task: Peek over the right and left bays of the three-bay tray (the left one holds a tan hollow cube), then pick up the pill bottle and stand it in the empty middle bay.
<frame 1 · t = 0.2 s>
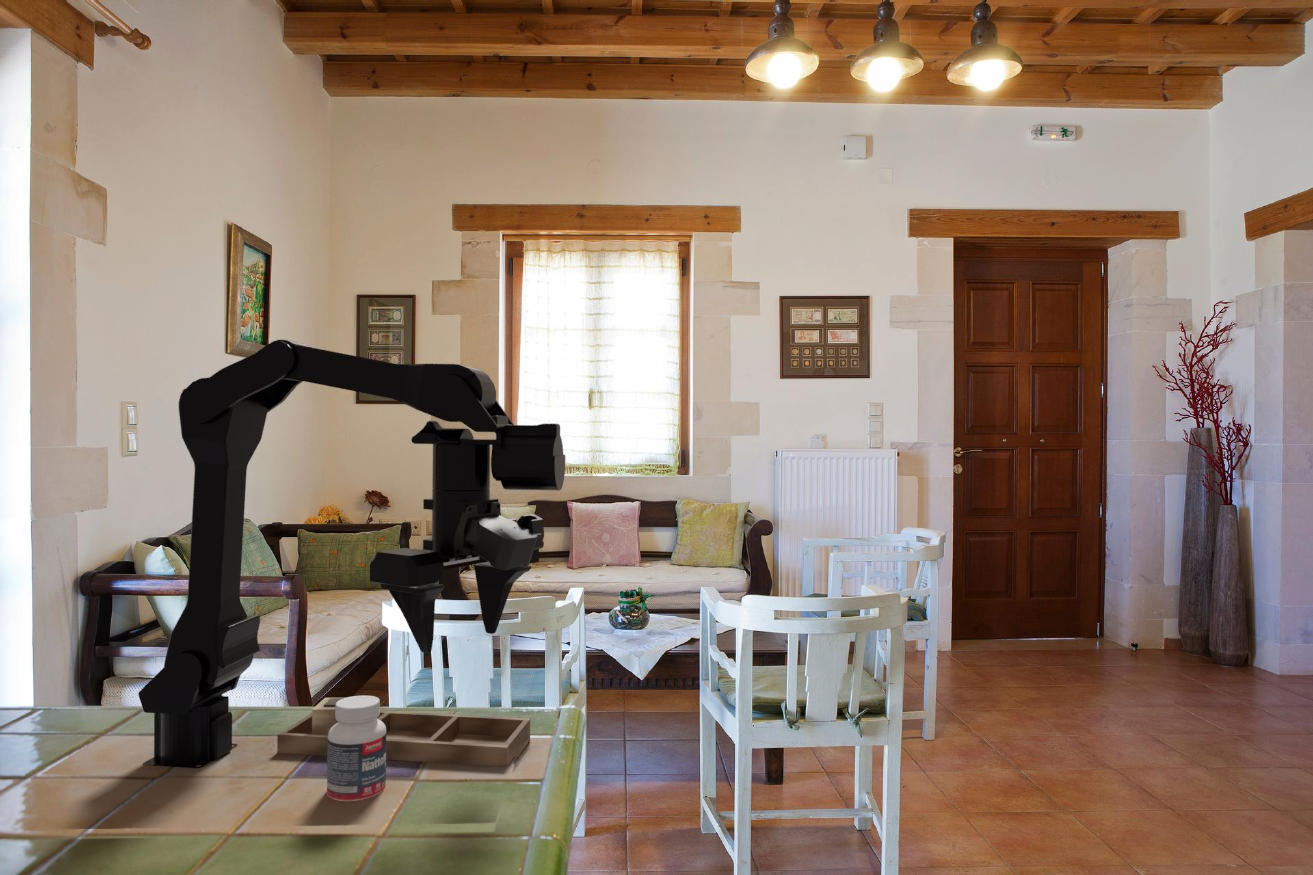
hand: (459, 642, 85), 13 cm above the counter, fingers open, 9 cm apart
pill bottle: (356, 796, 80), on the counter
bay tray: (407, 749, 91), on the counter
tan hollow cube: (337, 739, 92), point 1 cm above the counter, touching bay tray
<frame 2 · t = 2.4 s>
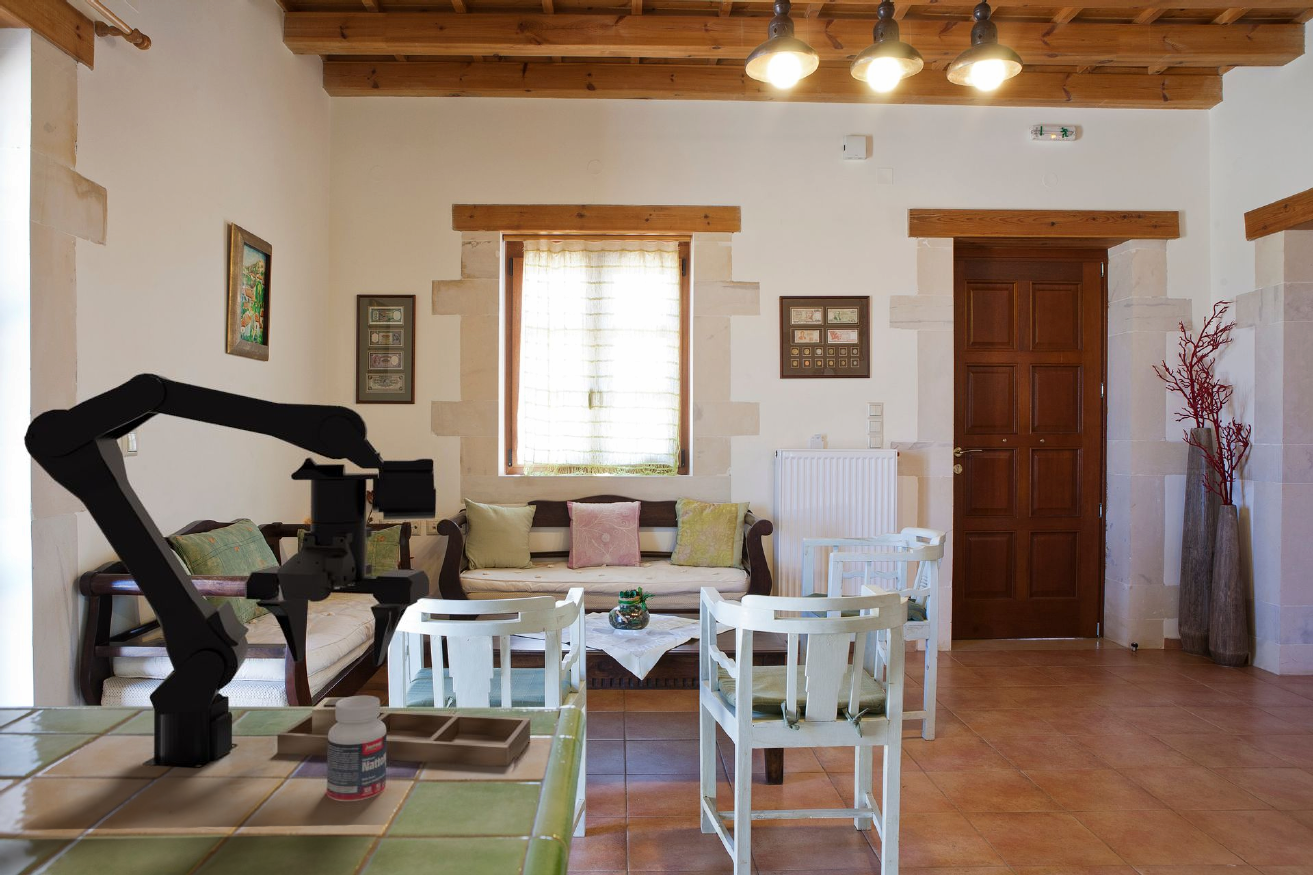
hand: (338, 663, 92), 9 cm above the counter, fingers open, 9 cm apart
nothing on the counter moved.
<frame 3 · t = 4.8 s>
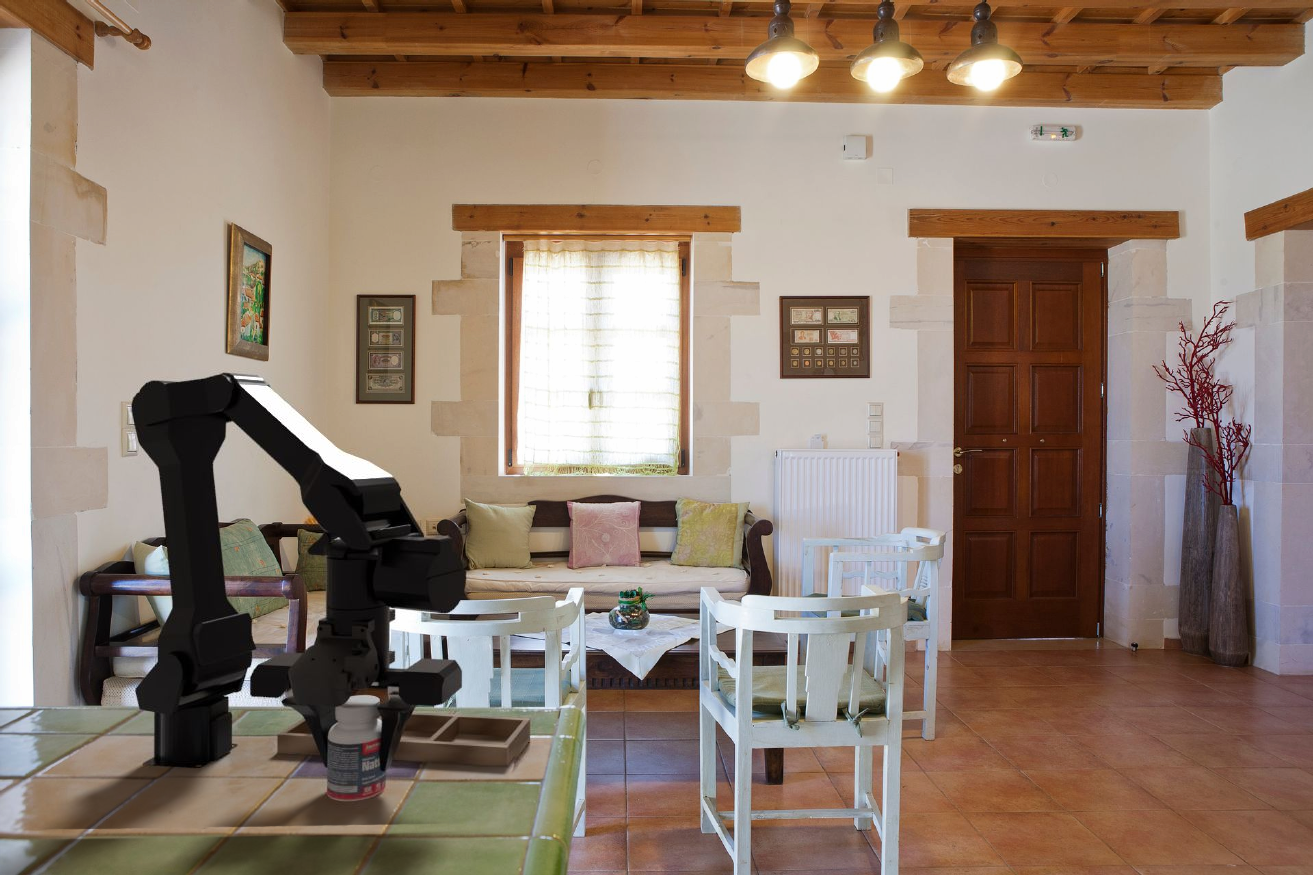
hand: (357, 767, 80), 3 cm above the counter, fingers closed on pill bottle, 5 cm apart
pill bottle: (356, 796, 80), on the counter, touching gripper
everything else where it was.
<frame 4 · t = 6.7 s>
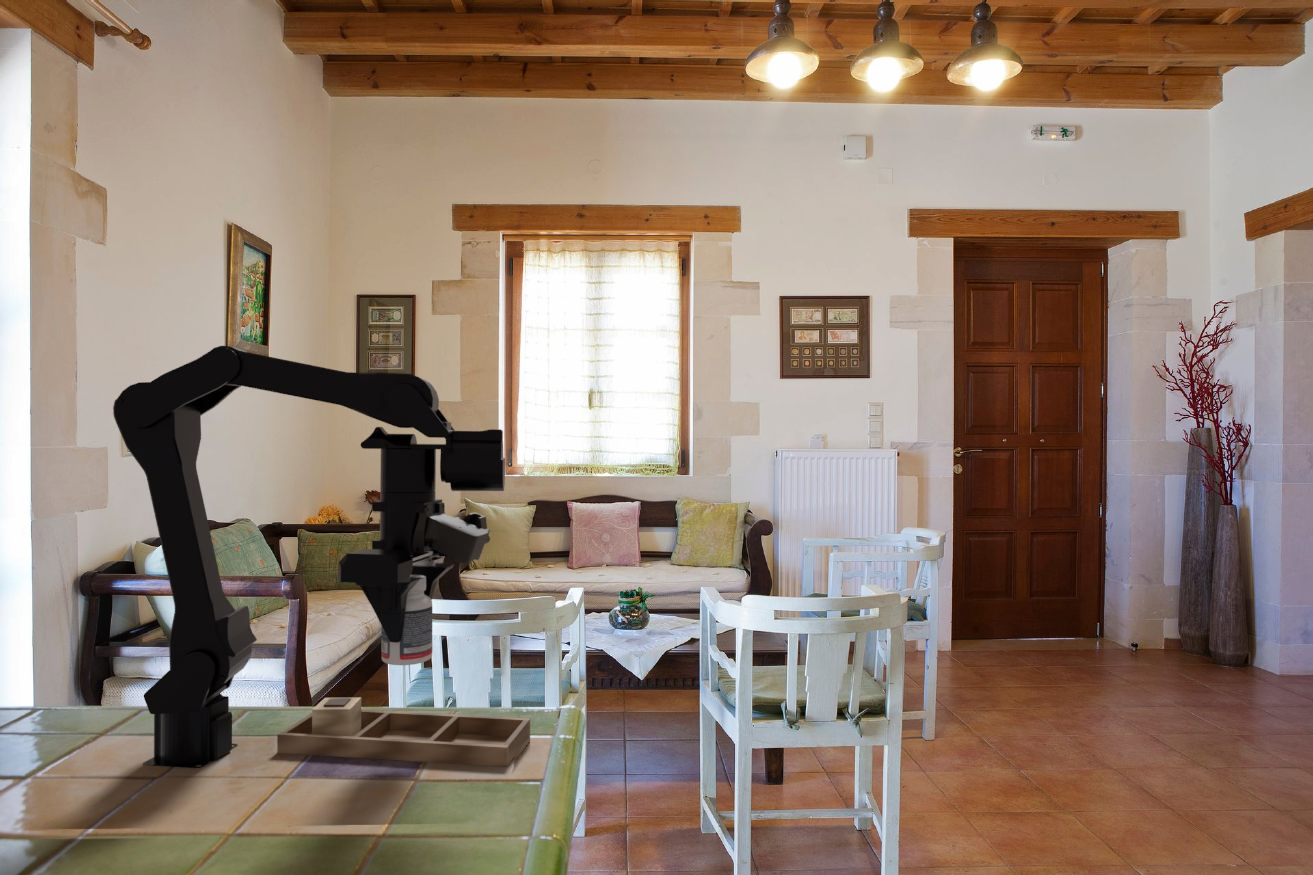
hand: (406, 635, 91), 12 cm above the counter, fingers closed on pill bottle, 5 cm apart
pill bottle: (406, 661, 91), point 10 cm above the counter, touching gripper
everything else where it was.
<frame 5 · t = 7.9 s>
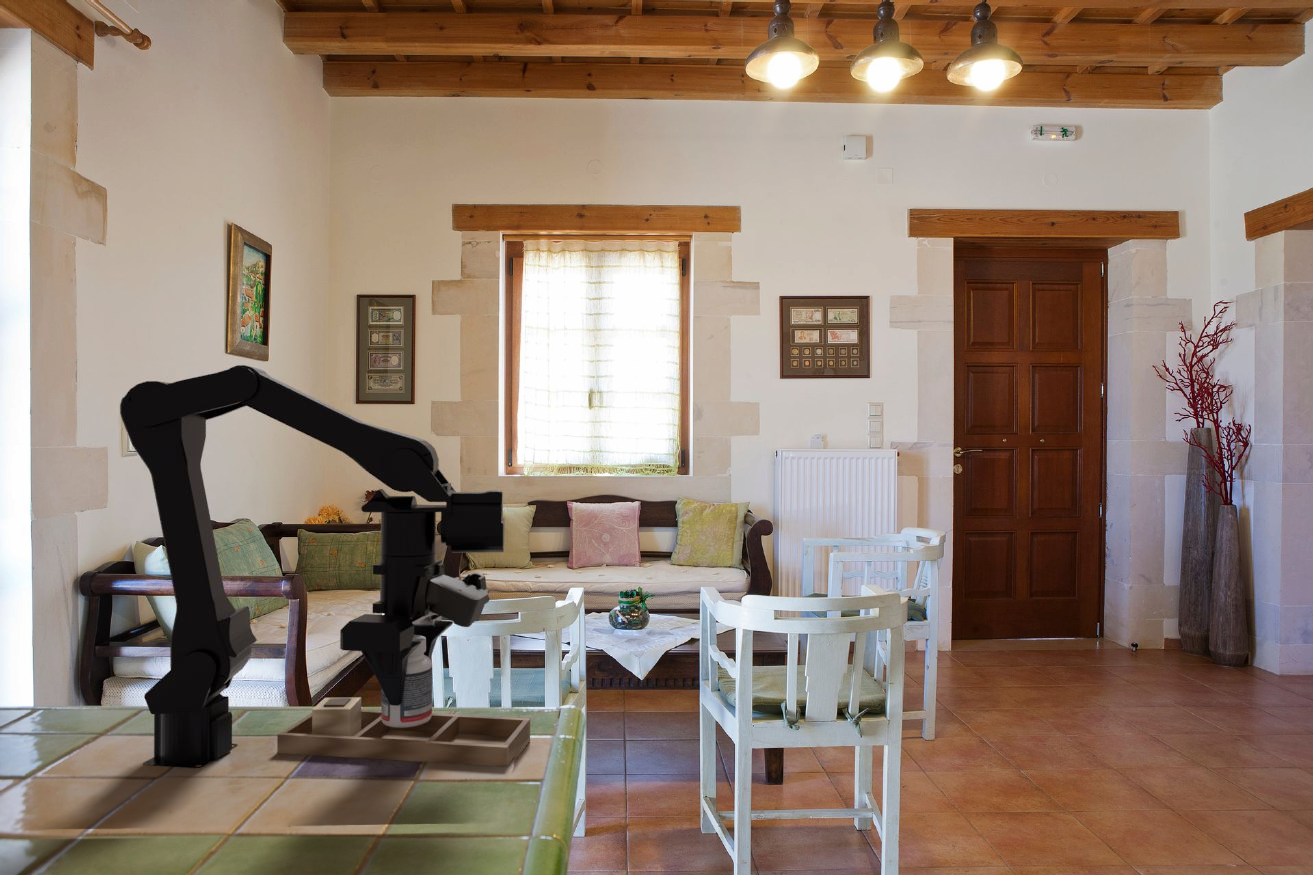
hand: (406, 696, 91), 6 cm above the counter, fingers closed on pill bottle, 5 cm apart
pill bottle: (406, 722, 91), point 3 cm above the counter, touching gripper
everything else where it was.
when the fingers open (4 cm above the counter, at t = 8.6 s): pill bottle stays where it is, resting on bay tray.
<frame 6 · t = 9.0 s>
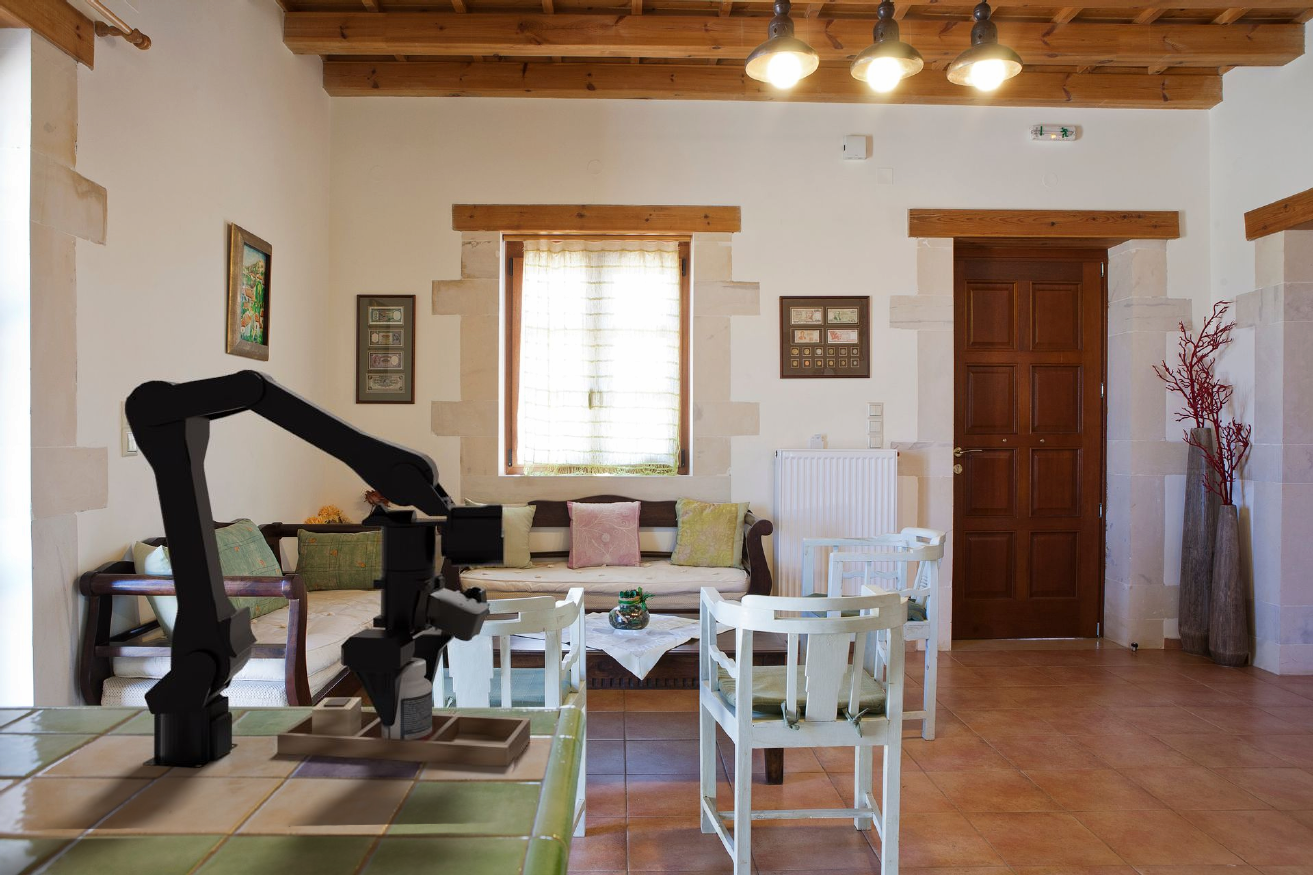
hand: (407, 710, 91), 4 cm above the counter, fingers open, 9 cm apart
pill bottle: (407, 745, 91), resting on bay tray
everything else where it was.
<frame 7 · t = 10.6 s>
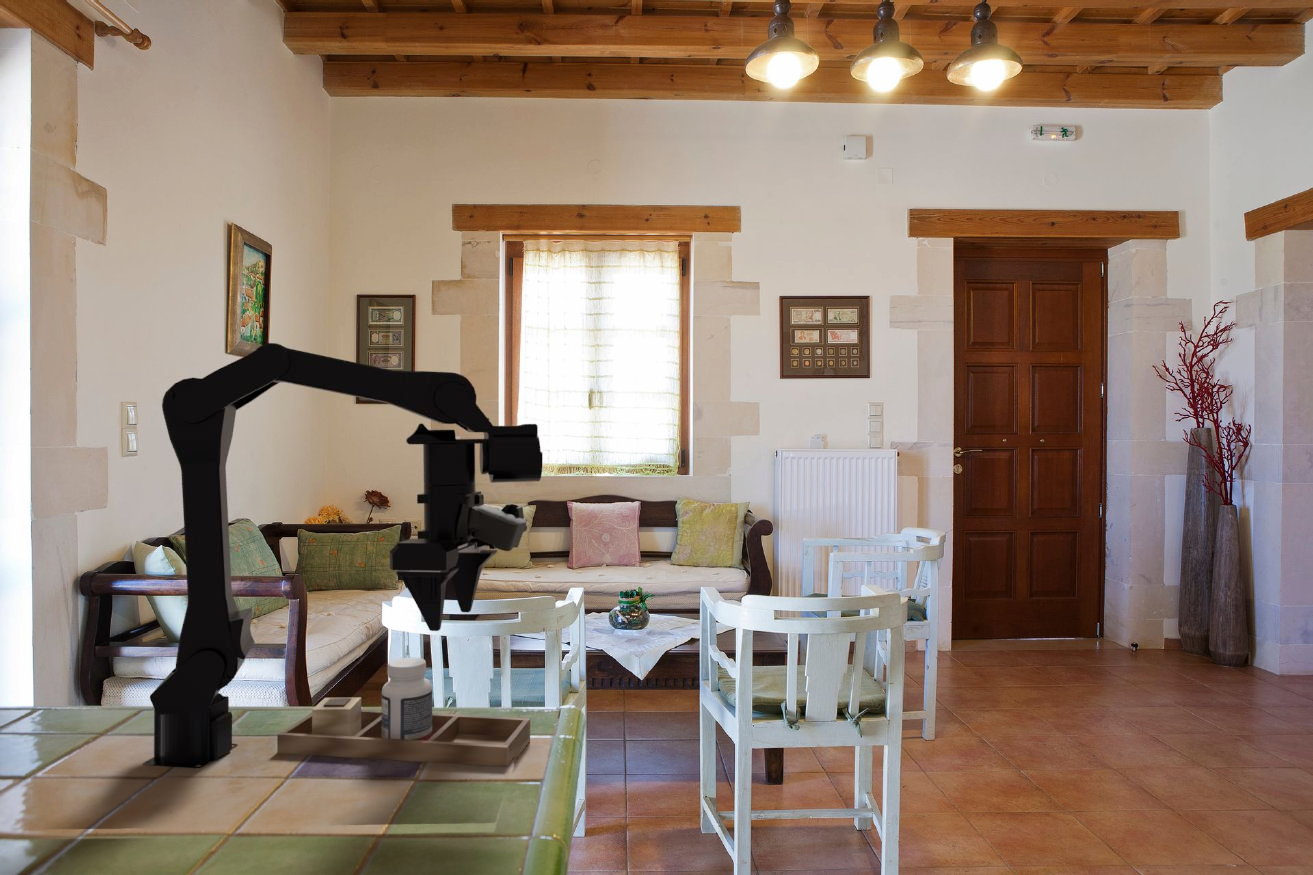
hand: (451, 620, 96), 13 cm above the counter, fingers open, 9 cm apart
nothing on the counter moved.
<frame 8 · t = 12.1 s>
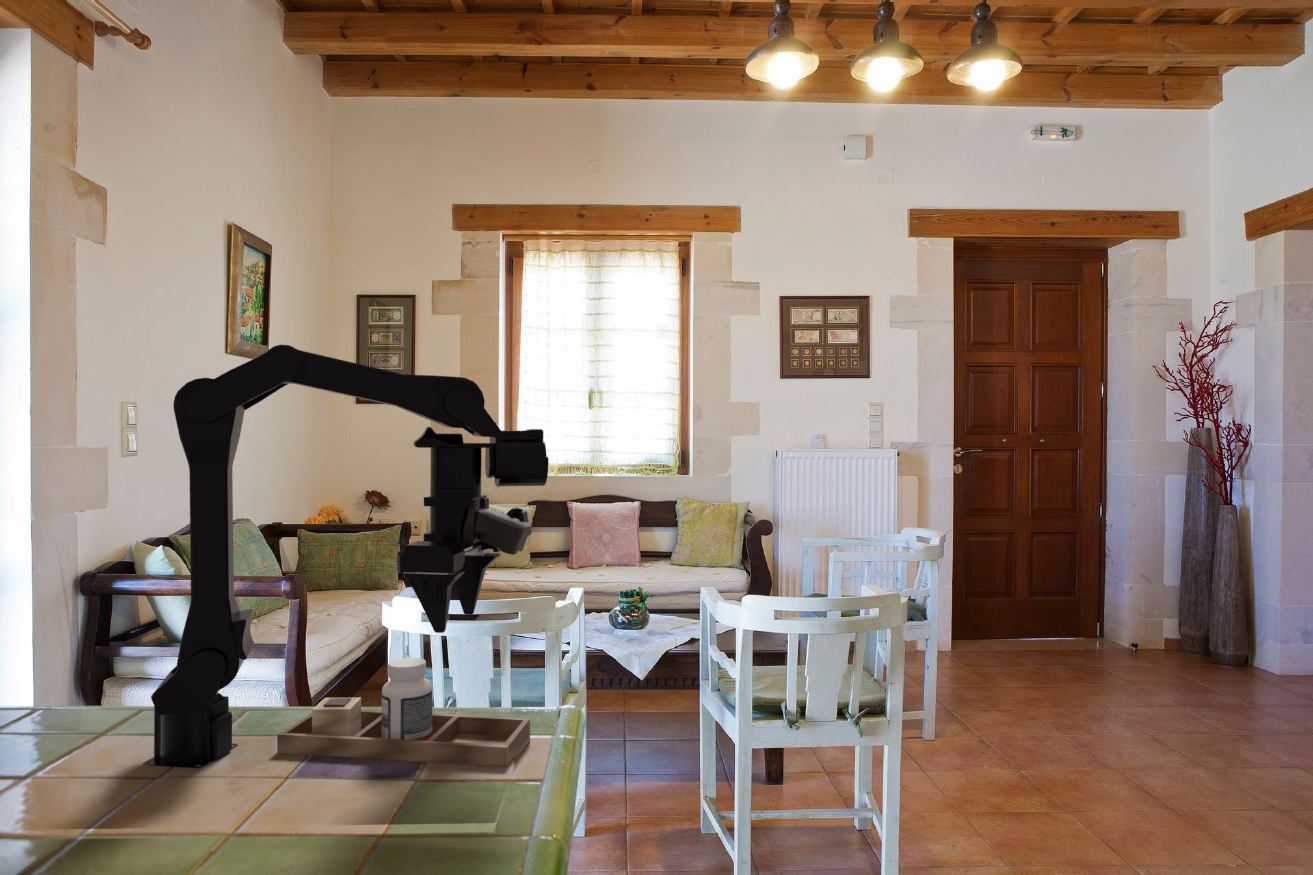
hand: (455, 622, 96), 12 cm above the counter, fingers open, 9 cm apart
nothing on the counter moved.
at the end: pill bottle 0.1 cm off-centre on the bay tray, point 0.4 cm above the bay tray's base; pill bottle tilted 0°; the gripper is holding nothing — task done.
